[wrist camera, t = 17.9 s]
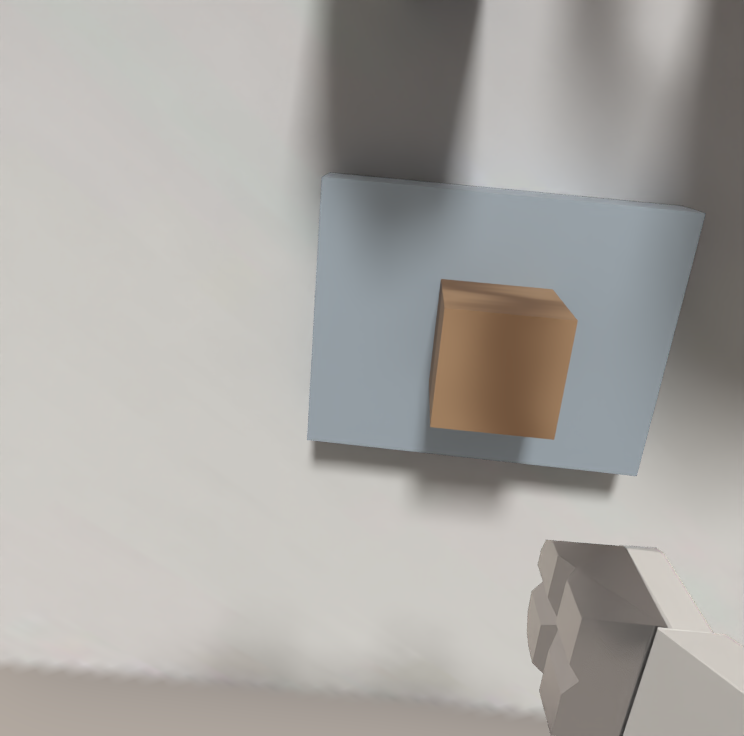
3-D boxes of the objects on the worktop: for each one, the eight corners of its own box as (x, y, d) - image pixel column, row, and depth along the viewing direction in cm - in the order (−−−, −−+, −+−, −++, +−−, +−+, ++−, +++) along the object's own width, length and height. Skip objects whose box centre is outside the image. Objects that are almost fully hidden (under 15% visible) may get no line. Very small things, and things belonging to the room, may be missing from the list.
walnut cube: (428, 381, 34) (430, 427, 29) (440, 278, 32) (444, 308, 27) (534, 392, 34) (554, 439, 29) (552, 289, 32) (577, 320, 27)
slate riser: (315, 417, 39) (307, 439, 36) (330, 172, 34) (321, 176, 31) (620, 450, 38) (636, 476, 35) (681, 205, 33) (705, 213, 30)
